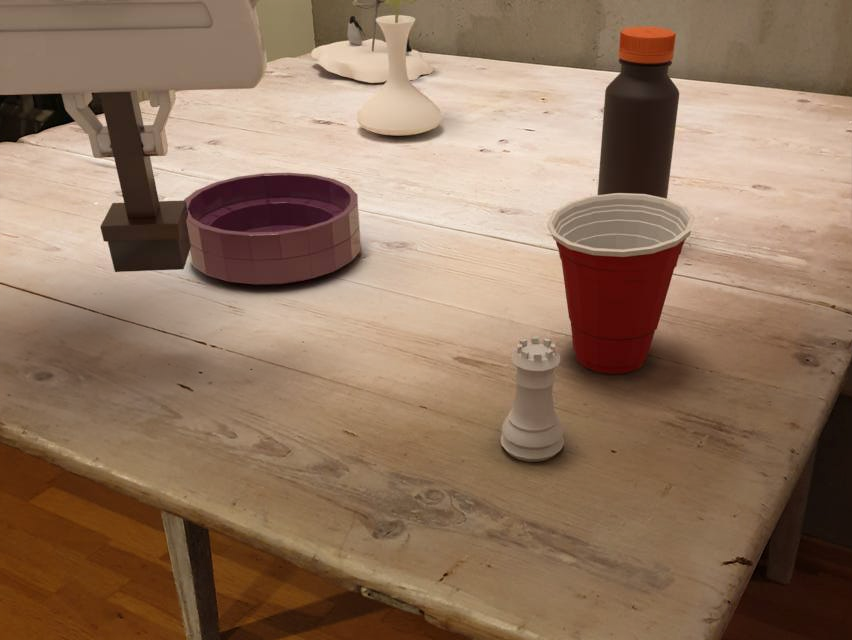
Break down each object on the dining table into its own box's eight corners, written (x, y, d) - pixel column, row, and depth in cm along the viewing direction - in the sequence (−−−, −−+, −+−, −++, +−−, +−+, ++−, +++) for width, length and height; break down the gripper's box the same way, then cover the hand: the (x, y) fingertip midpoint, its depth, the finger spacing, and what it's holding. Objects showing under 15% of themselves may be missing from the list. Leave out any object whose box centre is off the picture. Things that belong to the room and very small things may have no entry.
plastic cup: (522, 336, 81) (526, 198, 74) (638, 318, 84) (653, 183, 77) (571, 401, 73) (581, 252, 66) (699, 379, 75) (722, 233, 69)
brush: (111, 273, 71) (68, 97, 63) (122, 248, 75) (83, 78, 67) (186, 270, 71) (152, 95, 64) (194, 245, 75) (163, 76, 67)
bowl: (178, 295, 87) (167, 238, 84) (202, 227, 101) (193, 175, 97) (361, 288, 89) (357, 231, 86) (360, 221, 102) (357, 170, 99)
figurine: (285, 61, 155) (282, -51, 145) (367, 44, 167) (369, -60, 157) (373, 97, 146) (376, -21, 136) (453, 76, 157) (462, -33, 147)
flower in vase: (410, 148, 122) (402, -75, 108) (339, 134, 127) (323, -82, 113) (465, 123, 132) (465, -86, 117) (397, 110, 136) (389, -91, 122)
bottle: (675, 243, 98) (701, 32, 86) (633, 262, 94) (655, 43, 82) (622, 225, 102) (641, 20, 90) (580, 242, 98) (594, 31, 86)
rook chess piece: (576, 450, 67) (584, 349, 63) (526, 472, 65) (530, 369, 61) (537, 421, 70) (541, 323, 66) (487, 441, 68) (488, 341, 64)
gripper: (259, -74, 64) (283, 136, 72) (-64, -71, 62) (-3, 145, 70) (250, -61, 59) (277, 164, 67) (-102, -57, 57) (-32, 174, 65)
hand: (131, 154), depth 68 cm, fingers closed on brush, 2 cm apart
